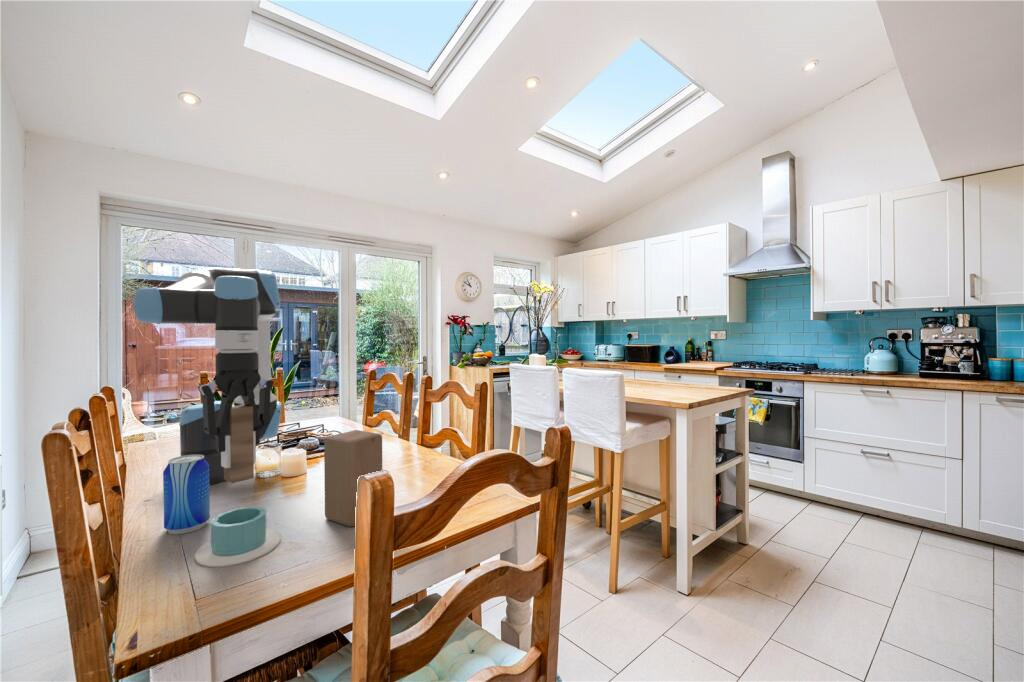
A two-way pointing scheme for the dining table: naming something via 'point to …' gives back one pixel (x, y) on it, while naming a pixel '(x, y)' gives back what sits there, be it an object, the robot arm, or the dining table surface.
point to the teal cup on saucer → (237, 538)
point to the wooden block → (348, 470)
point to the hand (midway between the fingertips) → (238, 463)
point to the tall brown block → (240, 444)
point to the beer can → (186, 494)
